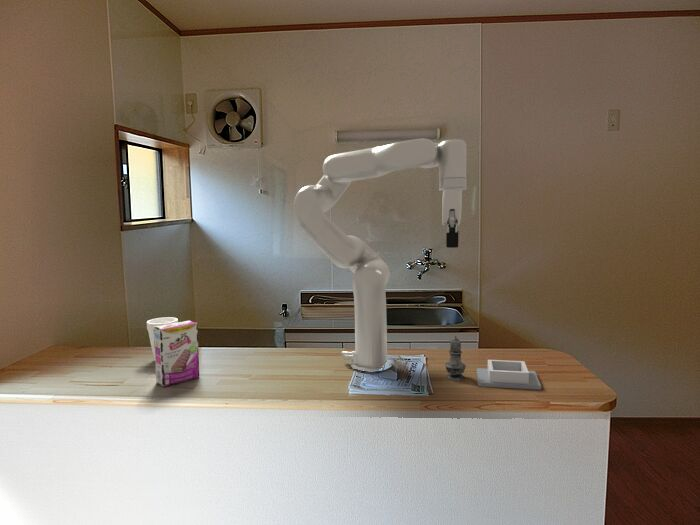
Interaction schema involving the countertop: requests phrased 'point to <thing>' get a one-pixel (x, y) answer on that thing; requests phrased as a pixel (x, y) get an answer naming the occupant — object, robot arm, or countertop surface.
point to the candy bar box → (176, 352)
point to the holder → (507, 375)
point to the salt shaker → (455, 361)
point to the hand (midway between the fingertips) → (452, 245)
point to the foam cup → (158, 322)
